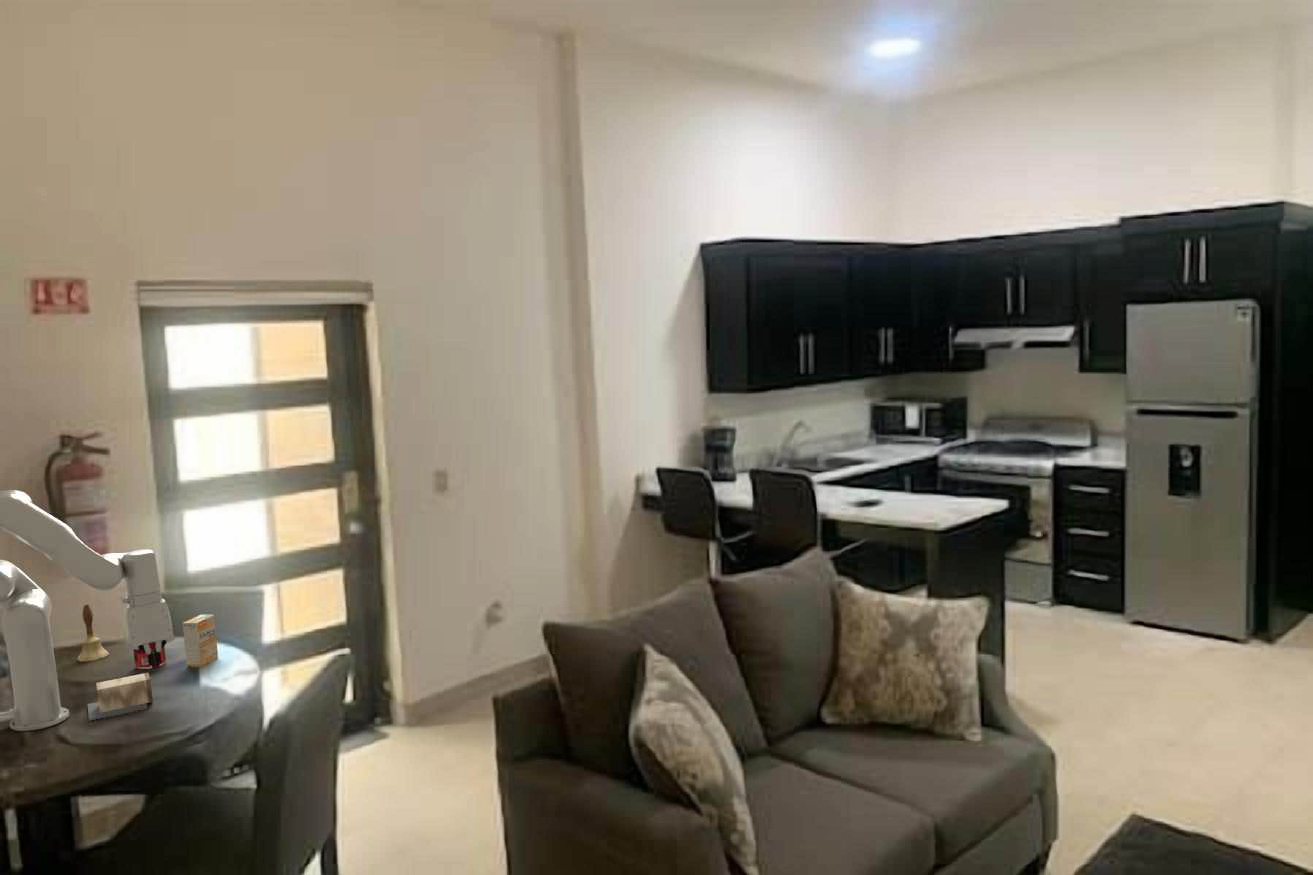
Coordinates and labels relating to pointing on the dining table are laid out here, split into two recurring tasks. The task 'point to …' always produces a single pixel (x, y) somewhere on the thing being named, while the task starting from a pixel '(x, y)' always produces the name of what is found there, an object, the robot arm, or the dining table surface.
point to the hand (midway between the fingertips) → (155, 666)
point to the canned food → (142, 657)
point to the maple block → (124, 692)
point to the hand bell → (90, 640)
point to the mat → (95, 711)
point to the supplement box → (200, 640)
